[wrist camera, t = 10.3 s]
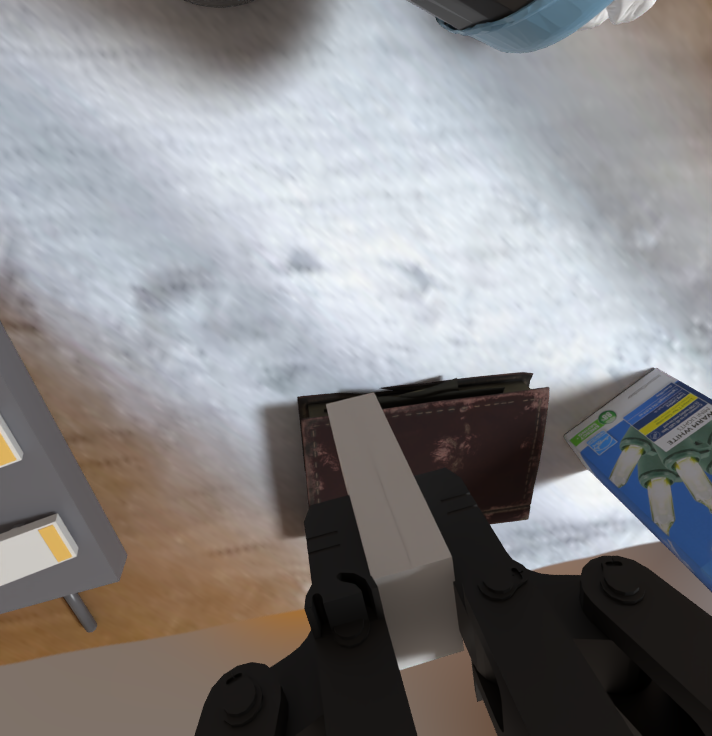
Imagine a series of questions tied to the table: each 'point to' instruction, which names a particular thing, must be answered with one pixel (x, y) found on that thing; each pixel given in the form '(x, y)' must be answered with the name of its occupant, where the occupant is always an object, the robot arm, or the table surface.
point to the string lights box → (657, 462)
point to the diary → (446, 438)
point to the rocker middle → (8, 446)
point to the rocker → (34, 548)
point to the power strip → (50, 498)
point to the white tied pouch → (620, 12)
